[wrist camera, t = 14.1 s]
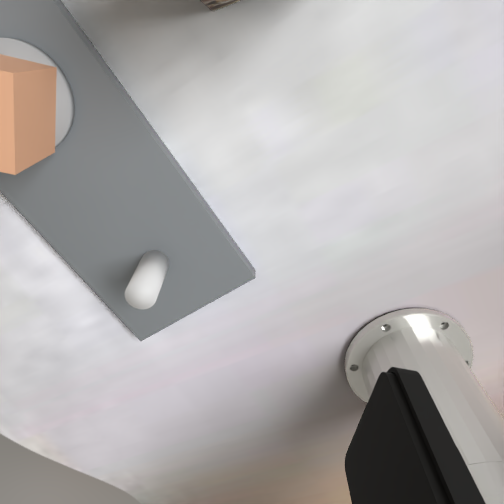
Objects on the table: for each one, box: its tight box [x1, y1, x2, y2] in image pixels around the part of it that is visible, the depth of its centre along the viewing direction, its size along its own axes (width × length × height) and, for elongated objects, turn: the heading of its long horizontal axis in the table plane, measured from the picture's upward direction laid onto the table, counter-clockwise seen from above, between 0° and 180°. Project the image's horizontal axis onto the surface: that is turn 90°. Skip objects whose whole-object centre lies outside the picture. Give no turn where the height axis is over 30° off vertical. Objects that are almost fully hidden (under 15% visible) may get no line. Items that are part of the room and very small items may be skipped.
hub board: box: [0, 0, 255, 341], centre depth 32 cm, size 28×13×8 cm, turn 33°
